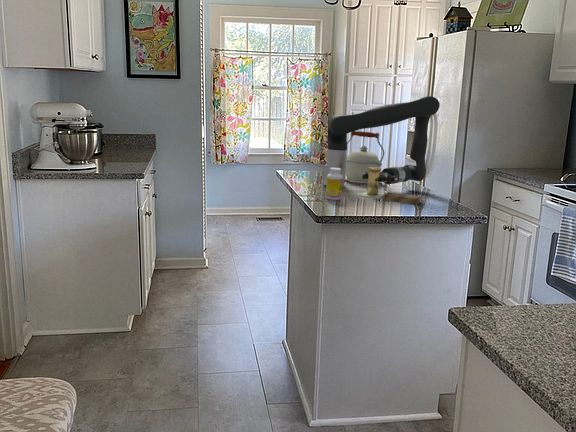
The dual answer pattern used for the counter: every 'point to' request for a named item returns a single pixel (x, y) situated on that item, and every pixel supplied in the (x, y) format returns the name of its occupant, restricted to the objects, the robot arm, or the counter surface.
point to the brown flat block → (402, 198)
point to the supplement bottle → (334, 184)
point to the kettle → (361, 159)
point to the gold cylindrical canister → (373, 181)
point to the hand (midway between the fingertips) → (370, 178)
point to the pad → (371, 195)
